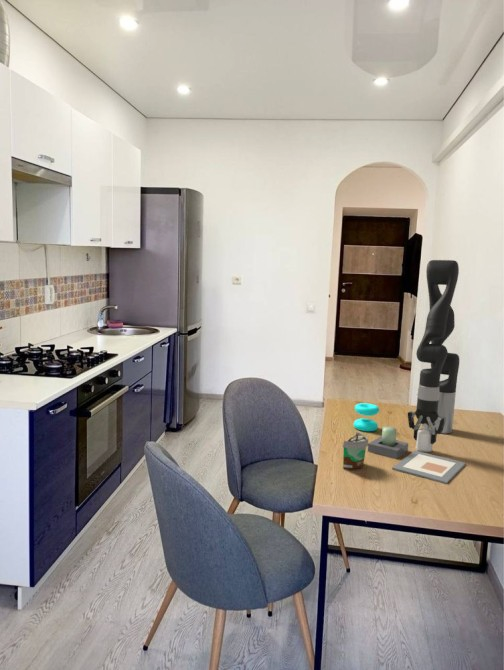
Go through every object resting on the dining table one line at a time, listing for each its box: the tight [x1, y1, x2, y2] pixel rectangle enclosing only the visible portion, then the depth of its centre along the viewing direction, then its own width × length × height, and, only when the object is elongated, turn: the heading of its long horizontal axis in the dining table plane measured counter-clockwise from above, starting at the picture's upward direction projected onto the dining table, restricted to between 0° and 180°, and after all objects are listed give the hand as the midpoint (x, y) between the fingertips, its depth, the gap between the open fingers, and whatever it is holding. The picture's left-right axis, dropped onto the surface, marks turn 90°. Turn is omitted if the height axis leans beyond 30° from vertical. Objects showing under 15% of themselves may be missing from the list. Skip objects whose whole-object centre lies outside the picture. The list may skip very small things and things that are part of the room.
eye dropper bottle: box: [415, 423, 434, 453], centre depth 196 cm, size 4×6×12 cm
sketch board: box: [391, 450, 467, 485], centre depth 180 cm, size 22×18×1 cm
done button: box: [381, 426, 397, 447], centre depth 194 cm, size 5×5×6 cm
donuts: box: [353, 402, 380, 432], centre depth 220 cm, size 10×10×10 cm
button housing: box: [367, 435, 409, 460], centre depth 194 cm, size 11×11×3 cm
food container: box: [342, 432, 369, 471], centre depth 177 cm, size 12×6×10 cm, turn 148°
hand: (424, 441), depth 196 cm, fingers closed on eye dropper bottle, 5 cm apart
